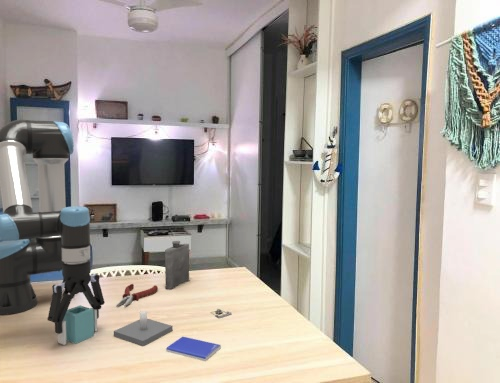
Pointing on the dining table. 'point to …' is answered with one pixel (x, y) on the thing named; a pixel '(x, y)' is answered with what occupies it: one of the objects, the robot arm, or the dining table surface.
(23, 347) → the dining table surface
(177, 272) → the flask
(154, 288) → the pliers
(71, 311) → the block with square hole
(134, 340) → the pin base
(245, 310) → the dining table surface
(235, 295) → the dining table surface
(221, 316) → the grey rectangular frame
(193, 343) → the hard drive
